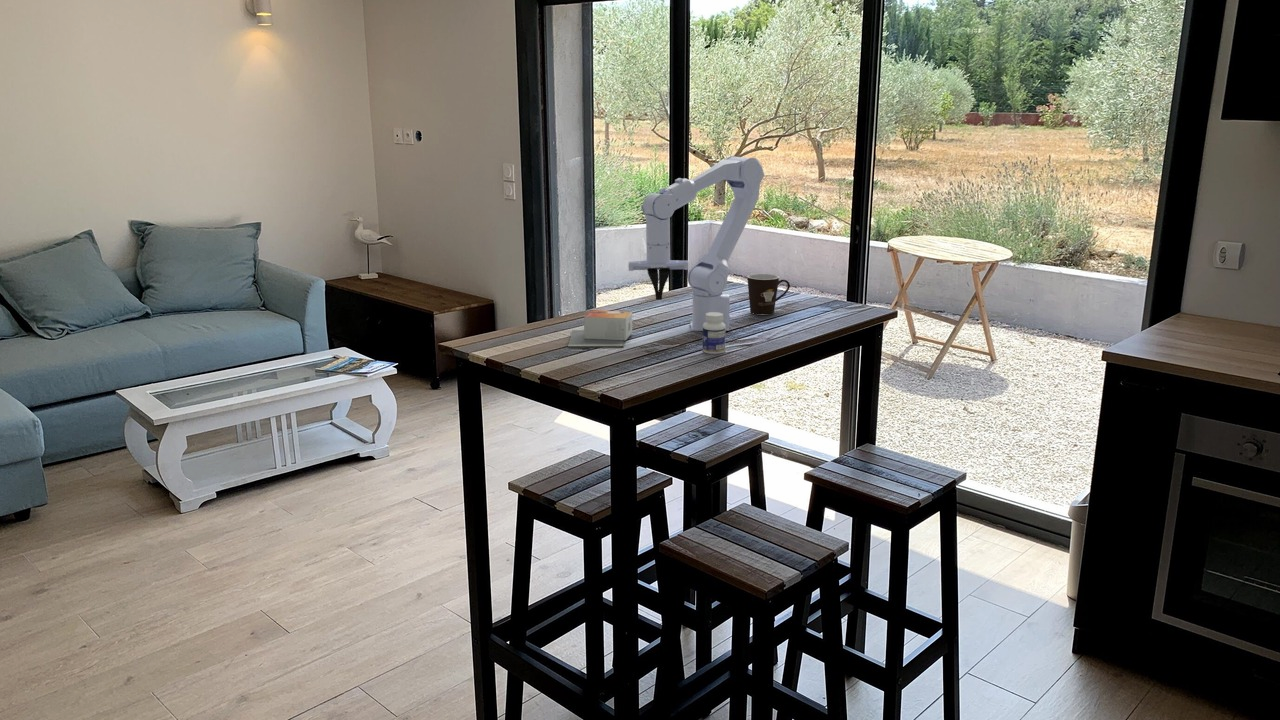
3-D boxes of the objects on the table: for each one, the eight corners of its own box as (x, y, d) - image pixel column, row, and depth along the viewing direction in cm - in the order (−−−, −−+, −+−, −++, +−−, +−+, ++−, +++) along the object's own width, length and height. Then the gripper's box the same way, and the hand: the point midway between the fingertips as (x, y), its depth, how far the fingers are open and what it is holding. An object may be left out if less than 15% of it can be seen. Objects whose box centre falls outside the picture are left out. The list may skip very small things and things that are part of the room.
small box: (626, 318, 220) (583, 316, 222) (626, 341, 222) (583, 339, 224) (632, 311, 228) (591, 309, 230) (632, 333, 230) (591, 331, 231)
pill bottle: (702, 348, 216) (702, 311, 214) (724, 348, 216) (725, 311, 214) (702, 354, 211) (703, 316, 209) (725, 354, 211) (726, 316, 209)
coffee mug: (746, 315, 249) (747, 279, 246) (746, 309, 257) (747, 273, 254) (789, 316, 248) (791, 280, 245) (788, 309, 256) (790, 274, 253)
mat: (624, 331, 233) (624, 329, 233) (623, 347, 218) (623, 345, 217) (572, 331, 233) (572, 329, 233) (568, 347, 218) (568, 345, 217)
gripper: (628, 246, 219) (629, 302, 223) (689, 245, 220) (689, 301, 223) (628, 242, 226) (629, 296, 230) (687, 241, 226) (687, 295, 230)
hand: (658, 298), depth 227 cm, fingers closed
